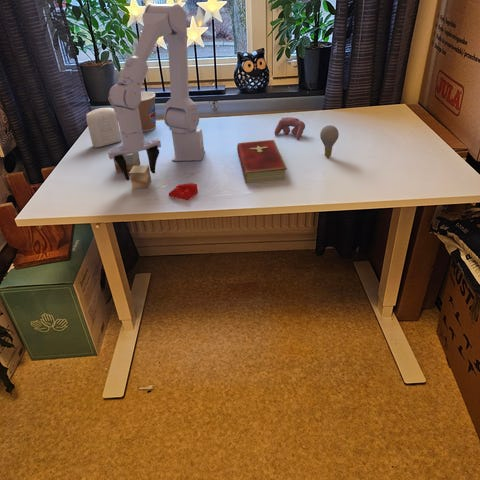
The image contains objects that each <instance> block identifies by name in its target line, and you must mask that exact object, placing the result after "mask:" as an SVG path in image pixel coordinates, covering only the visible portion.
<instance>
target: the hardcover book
mask: <svg viewBox="0 0 480 480" xmlns="http://www.w3.org/2000/svg"><path fill="white" fill-rule="evenodd" d="M236 146H237V147H236V151H237V156H238V159H239V162H240V163H239V164H240V166H241V170H242V174H243V178H244V182H245V184H248V183H254V182H255V183H256V182H265V181H267V182H268V181H277V180H285V179H286V170H288V168H287V166H286V164H285V161H284V159H283V157H282V155H281V153H280V150H279V148H278V146H277V143H276V141H275V139H268V140H258V141H257V140H255V141H245V142H238V143H237V145H236Z"/></svg>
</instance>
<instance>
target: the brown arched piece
mask: <svg viewBox="0 0 480 480" xmlns="http://www.w3.org/2000/svg"><path fill="white" fill-rule="evenodd" d="M291 127H292V129H291ZM305 128H306V124H305V122H304V121H302V120H301V119H299V118H296V117H289V116H288V117H282V118H281V119H280V120H279V121H278V123H277V125H276V127H275V129H274V135H275V136H278V135H279V134H281V132H283V134H286V135H288V133H289V134H291V135H293V136H295V137H296V140H300V139H301V137H302V136H303V134H304V130H305ZM290 132H291V133H290ZM299 138H300V139H299Z"/></svg>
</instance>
